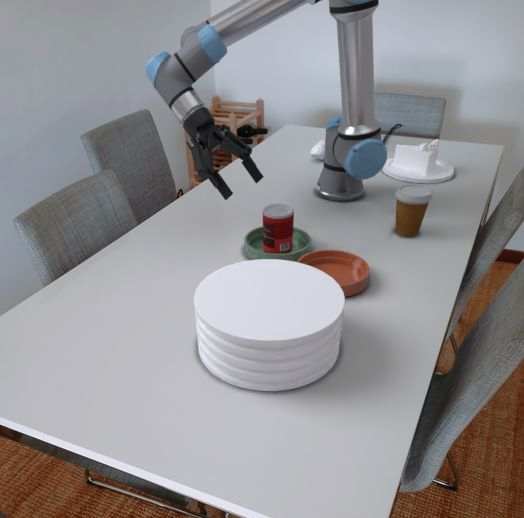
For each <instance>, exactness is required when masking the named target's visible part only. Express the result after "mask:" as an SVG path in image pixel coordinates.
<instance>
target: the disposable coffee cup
mask: <svg viewBox="0 0 524 518" xmlns="http://www.w3.org/2000/svg"><path fill="white" fill-rule="evenodd" d="M395 198H396V202H395V203H396V204H395V223H394V224H395V226H394V233H395V234H396V235H398V236H400V237H404V238H414V237H417V236H418V234H419V232H420V229H421V227H422V223H423V221H424V218H425V215H426V212H427V209H428V206H429V205H430V204H429V203H430V202H431V200H432V198H433V195H432V190H431V189H430V188H428V187H427V186H424V185H420V184H412V183H411V184H403V185H400V186H398V188H397V190H396V191H395Z"/></svg>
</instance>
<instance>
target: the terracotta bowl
mask: <svg viewBox="0 0 524 518" xmlns="http://www.w3.org/2000/svg"><path fill="white" fill-rule="evenodd" d="M297 262H298V263H302V264H306V265H309V266H311V267H314V268H316V269H319V270H321V271H323V272H324V273H326V274H328V275H329V276H330V277H332V278H333V279H334V280H335V281H336V282H337V283H338V284H339V286H340V287H341V289H342V291H343V293H344V297H345V298H346V297H351V296H354V295H357V294H359V293H361V292H362V291H363V290H365V289H366V288H367V286H368V283H369V278H370V277H369V276H370V271H371V270H370V266H369V264H368V262H367V261H365V260H364V258H362V257H360V256H359V255H358V254H354V253H351V252H349V251H344V250H341V249H340V250H339V249H318V250H313V251H311V252H310V253H307V254H305V255H303V256H301V257H300V258H299V259H298V261H297Z"/></svg>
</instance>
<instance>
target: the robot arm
mask: <svg viewBox="0 0 524 518" xmlns="http://www.w3.org/2000/svg"><path fill="white" fill-rule="evenodd" d="M322 1H323V0H239V1H237V2H236V3H234V4H232V5H230V6H229V7H227V8H225V9H224V10H223V9H222V11H220V12H218V13H216V14H214V15H213V16H210V18H207V19H206V20H204V21H202V22H201V23H199V24H197V25H193V26H189V27H188V28H186V29H184V31H183V32H182V34H181V37H180V48H179V49H178V50H177V51H176V52H174V54H170V53H169V52H168V51H166V50H165V51H162V50H161V51H159V52H157V54H154V55H153V56H152V57H151V58H150V59H149V60H148V61H147V63H146V65H145V71H144V72H145V75H146V76H147V78H148V80H149V81H150V83H151V84H152V85H153V88H154V90H155V91H156V92H157V93H158V95H159V96H160V97H161V98H162V100H163V101H164V102H165V104H166V106H167V107H168V108H169V109H170V111H171V112H172V113H173V115H174V116H175V118H176V119H177V121H178V122H179V123H180V125H182V128H183V129H184V131H185V132H186V133H187V135H188V137H189V139H188V140H187V141H186V146H187V147H188V148H189V150H190V153H191V156H192V159H193V163H194V166H195V169H196V172H197V177H198V178H200V179H203V180H204V181H207V180H209V182H210V183H211V184H212V186H213V187H214V188H215V189H217V191H218V193H219V195H221V197H222V198H223V200H224V201H227V200H228V199H230V197H231V196H233V194H234V192H233V190H232V189H231V188H230V186H228V184H227V182H226V181H225V179H224V178H223V177H222V176H221V174H220V173H219V171H218V170H216V171H215V167H214V156H213V155H214V154H213V152H214V151H215V150H216V151H217V150H224V151H226V152H227V153H229V154H230V155H232V156H234V157H236V158H238V159H239V160H241V164H242V166H243V167H244V169H245V170H246V172H247V173H248V174H249V176H250V177H251V179H252V180H253V182H254V183H255V184H258V183H259V182H260V181H261V180H262V179H263V178H264V177H265V176H264V175H263V174H262V172H261V171H260V169H259V167H258V166H257V164H256V162H255V161H254V159H253V158H252V157H251V155H252V153H253V148H252V146H250V145H249V144H247V143H246V142H244V140H242V139H241V138H240V137H239V136H237V135H236V134H235V133H234V132H232V131H231V129H230V128H229V126H227V124H226V123H223V124H222V125H220V127H217V125H216V124H215V121H216V119H215V117H214V115H213V114H212V112H211V111H210V110H209V108H208V107H206V104H205V102H204V101H203V99H202V98H201V97H200V95H199V94H198V92H197V91H196V90H195V89H194V87H193V86H192V85H193V84H195V83H196V82H197V81H198V80H199V79H200V78H202V77H203V76H204V75H205V74H206V73H207V72H208V71H209V70H211V69H213V67H214V66H216V65H217V64H219V63H220V61H221V60H222V59H223V58H224V57H225V56H226V55H227V54H228V47H230V46H232V45H233V44H235V43H238V42H239V41H240V40H243V39H244V38H246V37H249V36H250V35H252V34H254V33H256V32H257V31H259V30H261V29H263V28H264V27H267V26H269V25H270V24H272V23H274V22H276V21H277V20H279V19H281V18H282V17H285V16H286V15H288V14H290V13H292V12H294V11H295V10H297V9H299V8H301V7H302V6H305V5H306V4H309V5H311V6H314V5H316V4H317V3H319V2H322ZM379 1H380V0H328V9H329V15H330V16H331V17H332V18H333V19H334V20H335V22H336V33H337V34H336V35H337V36H336V37H337V51H338V64H339V82H340V93H341V94H340V96H341V97H340V98H341V113H342V115H336V116H335V115H334V116H331V117H329V118H328V119H327V121H326V127H325V139H324V140H325V152H324V159H323V166H322V169H321V172H320V175H319V176H318V177H319V178H318V180H317V182H316V184H315V193H316V195H318V197H320V198H323V199H325V200H329V201H333V202H352V201H356V200H358V199H360V198H362V197H363V196H364V190H365V187H364V182H363V181H365V180H369V179H371V178H373V177H375V176H377V175H378V174H379V173H380V171H382V168H383V167H384V165H385V163H386V160H387V159H388V150H387V147H386V145H385V141H386V139H387V138H388V136H389V135H390V133H392V131H393V129H395V128H396V127H398V126H399V127H402V124H401V123H400V124H398V123H396V124H394V126H392V127H391V128H390V129H389V130H388V131H387V133H386V134H385V136H384V137H383V139H382V123H381V122H380V121H379V120H378V119H377V118H376V106H375V105H376V103H375V102H376V100H375V67H374V66H375V64H374V63H375V62H374V59H375V58H374V26H373V22H374V21H373V15H374V13H375V12H376V10H377V9H378V7H379V5H380V3H379Z"/></svg>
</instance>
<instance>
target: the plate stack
mask: <svg viewBox="0 0 524 518" xmlns="http://www.w3.org/2000/svg"><path fill="white" fill-rule="evenodd" d="M345 304H346V297H344V293H343V291H342V289H341V287H340V286H339V284H338V283H337V282H336V281H335V280H334V279H333V278H332V277H330V276H329V275H328V274H326V273H324V272H323V271H321V270H319V269H316V268H314V267H311V266H309V265H306V264H302V263H298V262H293V261H287V260H278V259H259V260H251V259H250V260H243V261H240V262H235V263H232V264H228V265H225V266H223V267H220V268H218V269H216V270H214V271H213V272H211V273H210V274H208V275H207V276H206V277H204V278H203V279H202V281H201V282H200V283H199V284H198V286H197V287H196V289H195V291H194V295H193V306H194V315H195V316H194V317H195V327H196V334H197V335H196V336H197V346H198V354H199V358H200V360H201V362H202V364H203V365H204V366H205V368H206V369H207V370H208V371H209V372H210V373H211V374H213V375H214V376H215V377H217V378H218V379H220V380H221V381H224V382H226V383H227V384H230V385H232V386H235V387H238V388H242V389H246V390H250V391H257V392H258V391H259V392H283V391H289V390H292V389H293V390H294V389H297V388H301V387H304V386H307V385H309V384H312V383H313V382H316V381H317V380H319V379H321V378H322V377H324V376H325V375H326V374H327V373H329V371H330V370H331V369H332V368H333V367H334V366H335V364H336V362H337V360H338V357H339V353H340V343H341V335H342V329H343V320H344V312H345Z"/></svg>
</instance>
